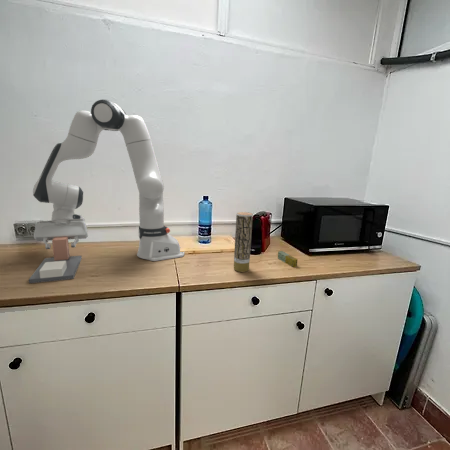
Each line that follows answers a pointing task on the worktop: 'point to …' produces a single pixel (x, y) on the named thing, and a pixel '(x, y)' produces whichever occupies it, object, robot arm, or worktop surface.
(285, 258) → the medication box
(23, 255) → the worktop surface
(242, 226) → the paper tube
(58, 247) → the salmon pink rectangular block
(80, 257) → the stand
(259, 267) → the worktop surface
